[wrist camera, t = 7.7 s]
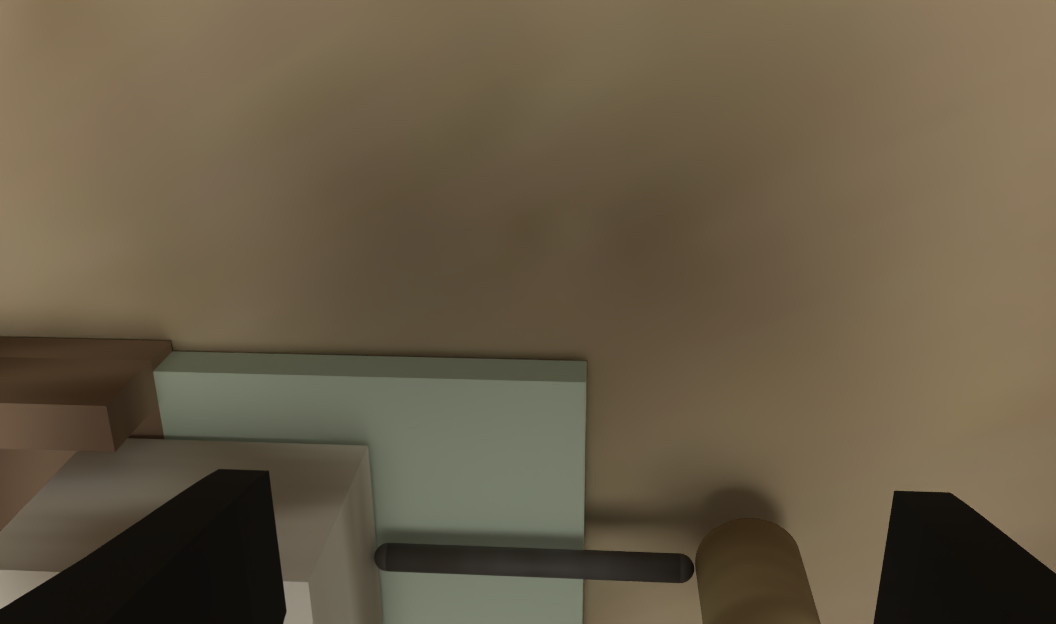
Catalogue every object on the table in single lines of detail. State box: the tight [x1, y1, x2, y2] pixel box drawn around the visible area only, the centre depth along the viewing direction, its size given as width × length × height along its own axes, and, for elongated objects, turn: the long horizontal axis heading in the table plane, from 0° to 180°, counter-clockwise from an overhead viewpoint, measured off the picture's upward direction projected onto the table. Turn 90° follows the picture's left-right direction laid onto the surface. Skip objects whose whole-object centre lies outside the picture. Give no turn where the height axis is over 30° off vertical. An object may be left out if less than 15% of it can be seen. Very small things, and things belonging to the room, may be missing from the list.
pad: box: [153, 351, 587, 624], centre depth 22 cm, size 9×8×1 cm
